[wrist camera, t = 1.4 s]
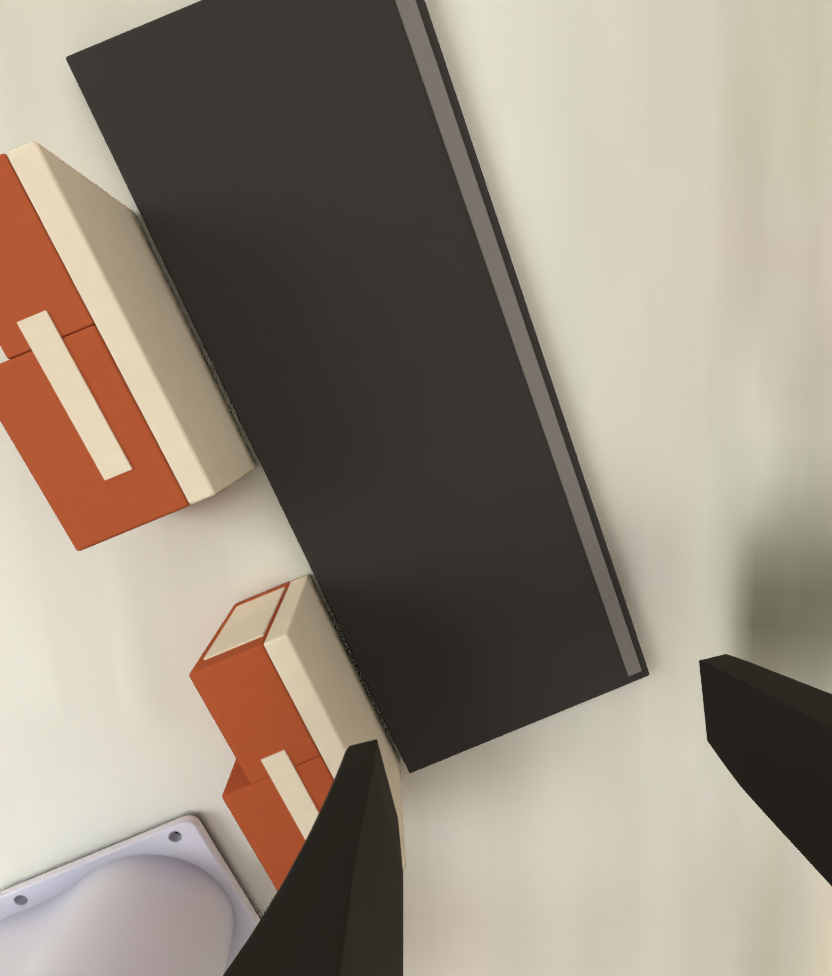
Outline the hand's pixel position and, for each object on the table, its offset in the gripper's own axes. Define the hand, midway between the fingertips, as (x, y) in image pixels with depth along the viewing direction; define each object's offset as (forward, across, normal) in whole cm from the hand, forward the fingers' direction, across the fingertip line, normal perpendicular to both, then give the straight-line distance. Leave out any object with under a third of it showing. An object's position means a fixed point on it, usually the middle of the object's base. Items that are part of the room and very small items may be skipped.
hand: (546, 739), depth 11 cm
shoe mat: (+10, +1, -7) cm, 12 cm away
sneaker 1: (+10, +7, +4) cm, 13 cm away
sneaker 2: (+10, +10, -10) cm, 17 cm away
